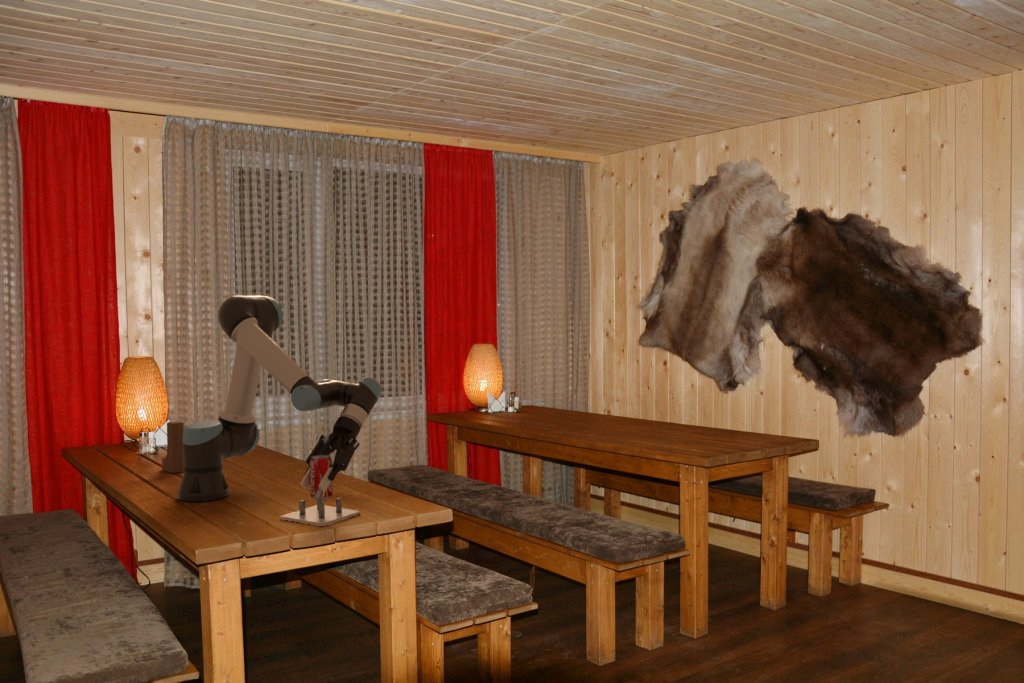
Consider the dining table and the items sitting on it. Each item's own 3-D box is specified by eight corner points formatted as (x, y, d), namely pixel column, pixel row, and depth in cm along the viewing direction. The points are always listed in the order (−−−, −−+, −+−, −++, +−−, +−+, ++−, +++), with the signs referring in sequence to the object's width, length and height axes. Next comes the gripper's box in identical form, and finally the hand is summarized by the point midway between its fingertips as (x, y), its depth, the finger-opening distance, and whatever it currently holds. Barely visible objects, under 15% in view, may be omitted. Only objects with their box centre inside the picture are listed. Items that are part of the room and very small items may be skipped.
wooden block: (161, 470, 312) (161, 421, 312) (174, 468, 316) (173, 419, 315) (172, 473, 306) (171, 423, 305) (184, 471, 309) (184, 422, 308)
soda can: (326, 494, 249) (325, 453, 248) (337, 497, 244) (336, 456, 244) (306, 497, 245) (305, 456, 244) (317, 501, 240) (316, 459, 240)
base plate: (279, 519, 242) (279, 516, 242) (318, 507, 256) (318, 504, 256) (322, 527, 234) (322, 523, 234) (360, 514, 248) (360, 510, 248)
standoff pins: (298, 514, 243) (298, 501, 243) (319, 508, 251) (319, 494, 251) (321, 518, 239) (321, 504, 239) (342, 512, 246) (342, 498, 246)
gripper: (381, 432, 252) (345, 499, 239) (331, 428, 262) (294, 491, 248) (369, 417, 247) (332, 483, 234) (319, 413, 257) (280, 476, 244)
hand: (312, 487), depth 241 cm, fingers closed on soda can, 6 cm apart
